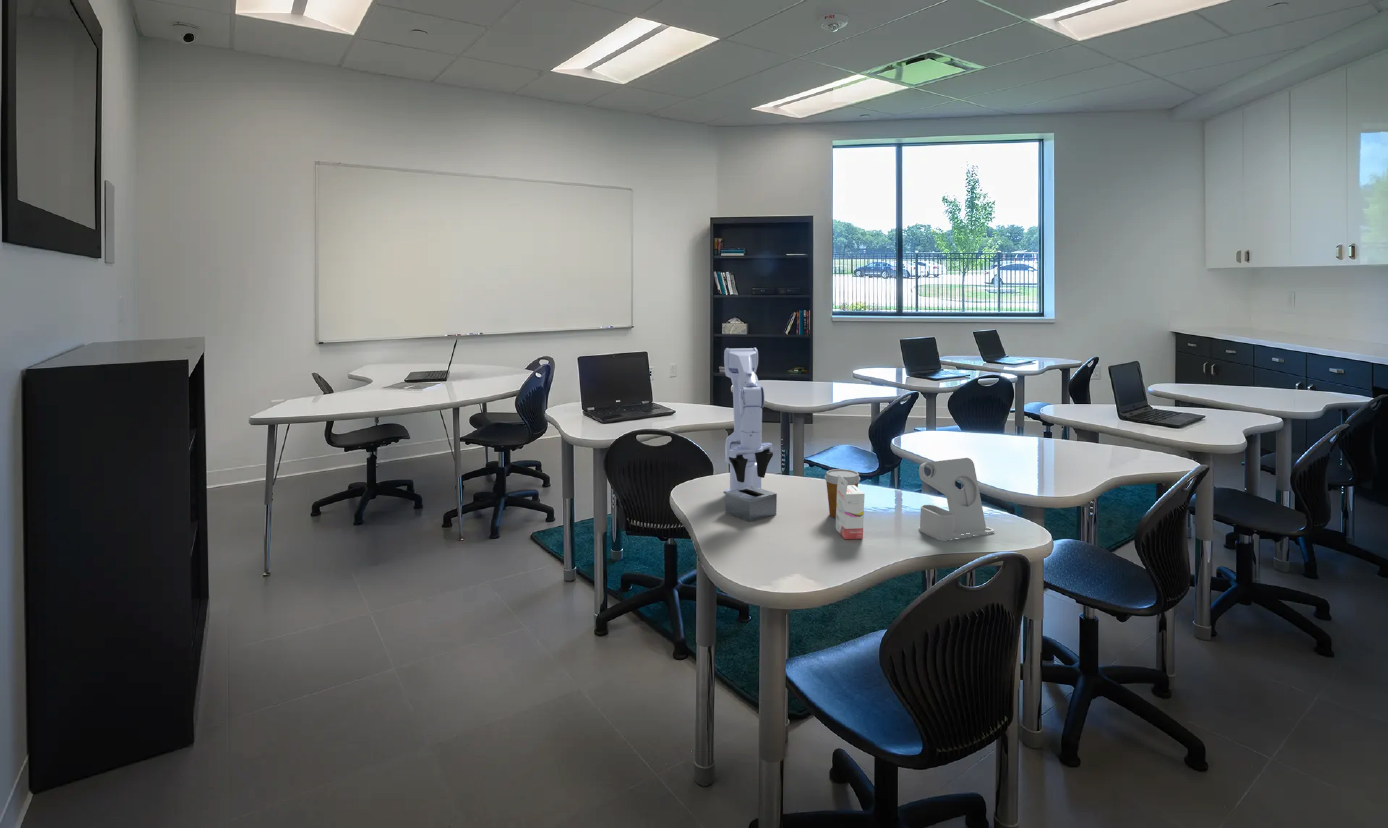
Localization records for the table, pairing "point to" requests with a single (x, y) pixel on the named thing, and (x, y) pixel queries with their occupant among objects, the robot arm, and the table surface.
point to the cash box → (750, 503)
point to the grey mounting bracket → (953, 501)
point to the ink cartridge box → (849, 510)
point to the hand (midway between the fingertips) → (750, 479)
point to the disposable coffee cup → (832, 482)
